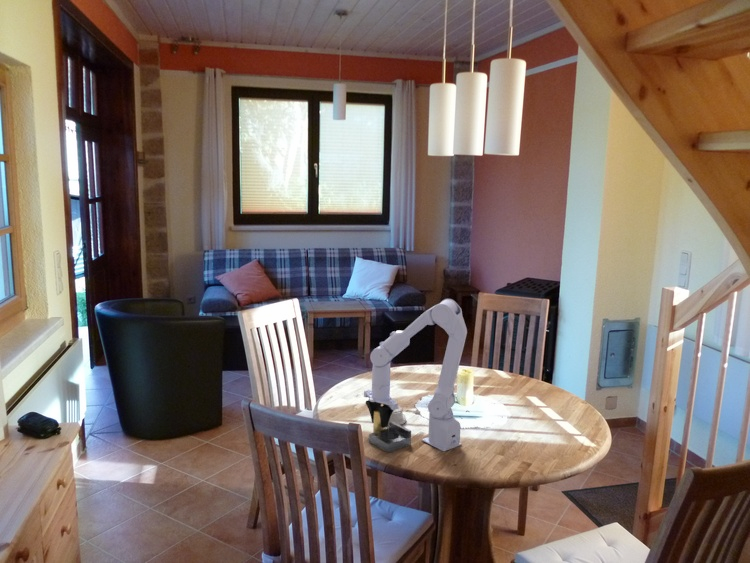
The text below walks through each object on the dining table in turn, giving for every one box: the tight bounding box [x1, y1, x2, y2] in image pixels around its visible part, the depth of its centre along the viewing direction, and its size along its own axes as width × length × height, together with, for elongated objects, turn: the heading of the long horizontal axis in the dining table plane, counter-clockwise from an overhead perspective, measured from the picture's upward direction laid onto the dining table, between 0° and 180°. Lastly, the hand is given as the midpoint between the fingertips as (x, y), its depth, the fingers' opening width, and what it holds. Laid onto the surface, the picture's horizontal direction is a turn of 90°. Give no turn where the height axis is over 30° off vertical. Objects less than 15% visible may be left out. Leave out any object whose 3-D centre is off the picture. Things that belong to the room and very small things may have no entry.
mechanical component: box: [388, 406, 407, 426], centre depth 199 cm, size 10×4×10 cm
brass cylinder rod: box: [372, 409, 387, 433], centre depth 190 cm, size 4×4×7 cm
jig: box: [368, 421, 412, 453], centre depth 181 cm, size 9×9×4 cm
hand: (379, 424), depth 190 cm, fingers closed on brass cylinder rod, 4 cm apart
